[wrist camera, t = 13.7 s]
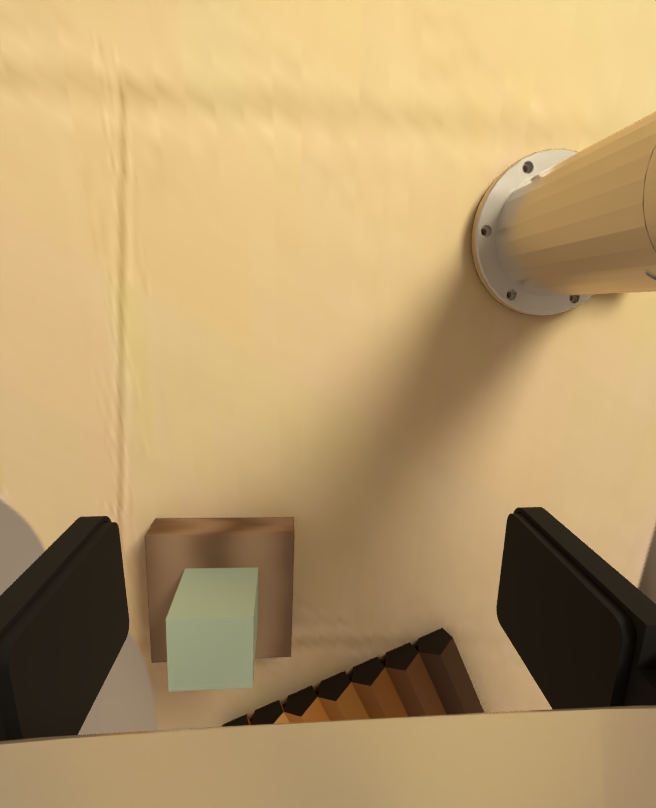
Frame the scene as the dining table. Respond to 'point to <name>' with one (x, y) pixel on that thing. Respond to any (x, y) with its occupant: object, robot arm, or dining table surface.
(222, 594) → the sage cube
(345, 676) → the pan flute
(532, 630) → the robot arm
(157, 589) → the walnut stand
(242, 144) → the dining table surface
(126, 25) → the dining table surface
